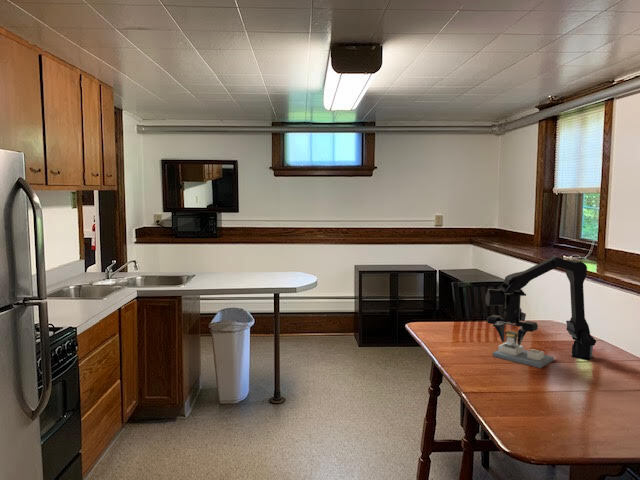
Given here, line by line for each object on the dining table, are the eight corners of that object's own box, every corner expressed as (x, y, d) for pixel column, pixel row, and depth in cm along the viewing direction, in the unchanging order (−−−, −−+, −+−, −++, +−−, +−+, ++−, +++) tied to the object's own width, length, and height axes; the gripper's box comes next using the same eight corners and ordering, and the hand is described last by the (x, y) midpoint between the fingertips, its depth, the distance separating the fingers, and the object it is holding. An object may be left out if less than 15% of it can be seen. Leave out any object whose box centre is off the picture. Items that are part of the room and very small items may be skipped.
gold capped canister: (519, 351, 195) (520, 332, 194) (514, 354, 191) (515, 335, 190) (507, 348, 198) (508, 330, 197) (502, 351, 195) (503, 332, 194)
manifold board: (553, 360, 189) (553, 350, 189) (540, 368, 180) (540, 357, 180) (506, 349, 203) (507, 340, 202) (492, 356, 194) (492, 346, 193)
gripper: (543, 306, 192) (542, 344, 193) (499, 299, 205) (498, 335, 207) (532, 311, 184) (531, 350, 186) (487, 303, 198) (485, 340, 199)
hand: (511, 343), depth 195 cm, fingers open, 6 cm apart
